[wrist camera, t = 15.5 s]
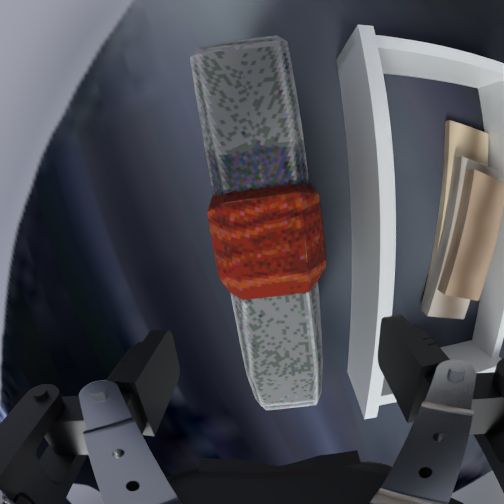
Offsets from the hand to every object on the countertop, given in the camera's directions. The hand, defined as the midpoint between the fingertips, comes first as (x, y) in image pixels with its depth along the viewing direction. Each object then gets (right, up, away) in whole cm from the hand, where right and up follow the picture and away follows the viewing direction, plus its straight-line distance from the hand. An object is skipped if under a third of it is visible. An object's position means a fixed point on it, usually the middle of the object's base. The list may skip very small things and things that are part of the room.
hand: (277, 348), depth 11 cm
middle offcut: (+26, +5, +22) cm, 34 cm away
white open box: (+22, +7, +23) cm, 32 cm away
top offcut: (+26, +6, +20) cm, 33 cm away
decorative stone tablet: (+1, +6, +25) cm, 25 cm away
